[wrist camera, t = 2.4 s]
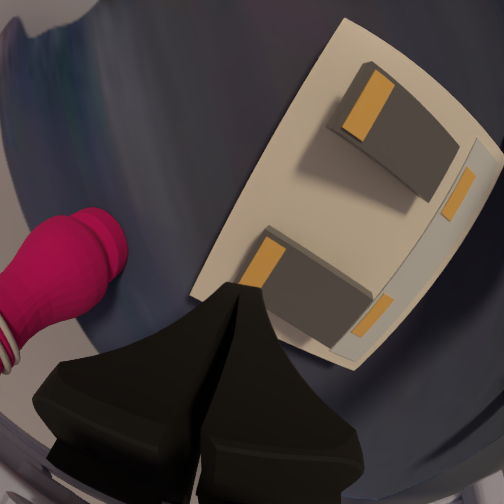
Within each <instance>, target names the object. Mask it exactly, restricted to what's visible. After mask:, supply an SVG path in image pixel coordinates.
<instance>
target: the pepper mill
mask: <svg viewBox="0 0 504 504" xmlns="http://www.w3.org/2000/svg"><path fill="white" fill-rule="evenodd" d="M127 255H128V248H127V242H126V238H125V235H124V233H123V230H122V229H121V227H120V225H119V224H118V222H117V221H116V220H115V219H114V218H113V217H112V216H111V215H110V214H108V213H107V212H106V211H104V210H102V209H99V208H94V207H89V208H85V209H82V210H80V211H78V212H76V213H74V214H72V215H70V216H64V215H59V216H55V217H51V218H49V219H48V220H46V221H44V222H43V223H41V224H40V225H38V226H37V227H36V228H35V229H34V230H33V231H32V232H31V233H30V234H29V235H28V237H27V238H26V239H25V241H24V243H23V244H22V246H21V247H20V249H19V250H18V252H17V254H16V255H15V257H14V258H13V260H12V261H11V263H10V264H9V265H8V266H7V267H6V268H5V270H4V271H3V272H2V273H1V274H0V374H1V373H2V374H5V375H8V374H10V372H11V368H12V367H13V366H14V365H17V364H18V363H19V361H20V352H19V351H20V350H21V349H22V347H23V346H24V345H25V343H26V342H27V341H28V340H29V339H30V338H31V337H32V336H34V335H35V334H36V333H37V332H39V331H40V330H42V329H44V328H46V327H48V326H50V325H52V324H55V323H58V322H61V321H65V320H68V319H72V318H76V317H78V316H80V315H82V314H84V313H86V312H88V311H89V310H90V309H92V308H93V307H94V306H95V305H96V304H98V303H99V302H100V301H101V299H102V298H103V296H104V295H105V292H106V290H107V286H108V283H109V282H111V281H112V280H113V279H114V278H115V277H116V276H117V275H118V274H119V273H120V272H121V271H122V270H123V268H124V267H125V264H126V261H127Z"/></svg>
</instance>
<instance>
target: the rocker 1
mask: <svg viewBox="0 0 504 504" xmlns="http://www.w3.org/2000/svg"><path fill="white" fill-rule="evenodd" d="M233 283H237V284H243V285H248V286H254V287H260V288H261V289H262V291H263V299H264V303H265V307H266V309H267V310H269V311H270V312H272V313H273V314H275V315H276V316H278V317H279V318H281V319H283V320H284V321H286V322H287V323H289V324H291V325H292V326H294V327H295V328H297V329H299V330H300V331H302V332H303V333H305V334H307V335H308V336H310V337H312V338H313V339H315V340H316V341H318V342H320V343H321V344H323V345H325V346H326V347H328V348H330V349H331V348H332V347H333V346H334V345H335V344H336V343H337V341H338V340H339V339H340V338H341V337H342V336H343V335H344V334H345V333H346V332H347V330H348V329H349V328H350V327H351V326H352V325H353V324H354V323H355V321H356V320H357V319H358V318H359V317H360V316H361V314H362V313H363V312H364V311H365V310H366V309H367V307H368V306H369V305H370V304H371V303H372V301H373V295H372V292H371V291H369V290H368V289H366V288H365V287H363V286H362V285H360V284H359V283H357V282H356V281H354V280H353V279H352V278H350V277H349V276H347V275H346V274H344V273H343V272H341V271H340V270H338V269H337V268H335V267H334V266H332V265H331V264H329V263H328V262H326V261H324V260H323V259H321V258H320V257H318V256H317V255H315V254H314V253H312V252H311V251H309V250H308V249H306V248H305V247H303V246H301V245H300V244H298V243H297V242H295V241H294V240H292V239H291V238H289V237H287V236H286V235H284V234H283V233H281V232H280V231H278V230H276V229H275V228H273V227H272V226H270V225H268V226H267V227H266V228H265V229H264V231H263V232H262V234H261V236H260V237H259V239H258V241H257V242H256V244H255V246H254V248H253V249H252V251H251V253H250V254H249V256H248V258H247V260H246V261H245V263H244V265H243V266H242V268H241V270H240V272H239V273H238V275H237V277H236V278H235V280H234V282H233Z"/></svg>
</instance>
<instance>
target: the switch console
mask: <svg viewBox="0 0 504 504" xmlns="http://www.w3.org/2000/svg"><path fill="white" fill-rule="evenodd" d="M370 61H373V62H374V63H375V64H377V65H378V66H379V67H380V68H382V69H383V70H384V71H385V72H387V73H388V74H389V75H390V76H391V77H393V78H394V79H395V80H396V81H397V82H398V83H399V84H401V85H402V86H403V87H404V88H405V89H406V90H407V91H408V92H409V93H411V94H412V95H413V96H414V97H415V98H416V99H417V100H418V101H419V102H420V103H421V104H422V105H423V106H424V107H425V108H426V109H427V110H428V111H429V112H430V113H431V114H432V115H433V116H434V117H435V118H436V119H437V121H438V122H439V123H440V124H441V125H442V126H443V127H444V128H445V129H446V131H447V132H448V133H449V134H450V135H451V136H452V137H453V139H454V140H455V141H456V142H457V143H458V145H459V146H460V148H459V150H458V152H457V154H456V156H455V158H454V160H453V162H452V163H451V165H450V167H449V169H448V171H447V173H446V174H445V176H444V178H443V180H442V182H441V183H440V185H439V187H438V189H437V190H436V192H435V194H434V195H433V197H432V199H431V200H430V202H429V203H427V202H426V201H424V200H422V199H421V198H419V197H418V196H417V195H416V194H415V193H413V192H412V191H411V190H410V189H409V188H408V187H406V186H405V185H404V184H403V183H402V182H400V181H399V180H398V179H397V178H395V177H394V176H393V175H392V174H390V173H389V172H388V171H387V170H385V169H384V168H383V167H381V166H380V165H379V164H378V163H376V162H375V161H374V160H372V159H371V158H370V157H368V156H367V155H365V154H364V153H363V152H361V151H360V150H358V149H357V148H356V147H354V146H353V145H351V144H350V143H348V142H347V141H346V140H344V139H343V138H341V137H340V136H338V135H337V134H335V133H334V132H332V131H330V130H329V129H327V128H326V125H327V123H328V122H329V120H330V118H331V117H332V115H333V113H334V111H335V110H336V108H337V106H338V105H339V103H340V101H341V100H342V98H343V96H344V94H345V93H346V91H347V89H348V88H349V86H350V84H351V83H352V81H353V79H354V77H355V76H356V74H357V72H358V71H359V69H360V67H361V66H362V64H363V63H366V62H370ZM503 166H504V154H503V153H502V151H501V150H500V149H499V147H498V146H497V145H496V144H495V142H494V141H493V140H492V139H491V137H490V136H489V135H488V134H487V133H486V131H485V130H484V129H483V128H482V127H481V126H480V124H479V123H478V122H477V121H476V120H475V119H474V118H473V117H472V116H471V114H470V113H469V112H468V111H467V110H466V109H465V108H464V107H463V106H462V105H461V104H460V103H459V102H458V101H457V100H456V99H455V98H454V97H453V96H452V95H451V94H450V93H449V92H448V91H447V90H445V89H444V88H443V87H442V86H441V85H440V84H439V83H438V82H437V81H435V80H434V79H433V78H432V77H431V76H430V75H428V74H427V73H426V72H425V71H424V70H422V69H421V68H420V67H419V66H417V65H416V64H415V63H414V62H412V61H411V60H410V59H408V58H407V57H406V56H404V55H403V54H402V53H400V52H399V51H398V50H396V49H395V48H393V47H392V46H390V45H389V44H387V43H386V42H384V41H383V40H381V39H380V38H378V37H377V36H375V35H374V34H372V33H370V32H369V31H367V30H366V29H364V28H362V27H360V26H359V25H357V24H355V23H353V22H352V21H350V20H348V19H346V18H344V19H343V21H342V22H341V24H340V25H339V27H338V28H337V30H336V32H335V33H334V35H333V36H332V38H331V39H330V41H329V43H328V44H327V46H326V47H325V49H324V51H323V52H322V54H321V55H320V57H319V59H318V60H317V62H316V63H315V65H314V67H313V68H312V70H311V72H310V73H309V75H308V77H307V78H306V80H305V82H304V83H303V85H302V87H301V88H300V90H299V92H298V93H297V95H296V97H295V98H294V100H293V102H292V104H291V105H290V107H289V109H288V110H287V112H286V114H285V116H284V117H283V119H282V121H281V122H280V124H279V126H278V128H277V129H276V131H275V133H274V135H273V137H272V138H271V140H270V142H269V144H268V145H267V147H266V149H265V151H264V153H263V154H262V156H261V158H260V160H259V162H258V163H257V165H256V167H255V169H254V171H253V173H252V174H251V176H250V178H249V180H248V182H247V184H246V185H245V187H244V189H243V191H242V193H241V195H240V197H239V199H238V200H237V202H236V204H235V206H234V208H233V210H232V212H231V214H230V216H229V218H228V219H227V221H226V223H225V225H224V227H223V229H222V231H221V233H220V235H219V237H218V239H217V241H216V243H215V245H214V247H213V249H212V251H211V253H210V255H209V257H208V259H207V261H206V263H205V265H204V267H203V269H202V271H201V273H200V275H199V277H198V279H197V281H196V283H195V285H194V287H193V289H192V291H191V293H190V295H191V296H192V297H194V298H196V299H198V300H200V301H202V302H203V301H204V300H206V299H207V298H208V297H209V296H210V295H211V294H212V293H214V292H215V291H216V290H217V289H218V288H219V287H220V286H221V285H222V284H223V283H225V282H231V283H233V282H234V280H235V278H236V277H237V275H238V273H239V272H240V270H241V268H242V266H243V265H244V263H245V261H246V260H247V258H248V256H249V254H250V253H251V251H252V249H253V248H254V246H255V244H256V242H257V241H258V239H259V237H260V236H261V234H262V232H263V231H264V229H265V228H266V227H267V226H268V225H270V226H272V227H273V228H275V229H276V230H278V231H280V232H281V233H283V234H284V235H286V236H287V237H289V238H291V239H292V240H294V241H295V242H297V243H298V244H300V245H301V246H303V247H305V248H306V249H308V250H309V251H311V252H312V253H314V254H315V255H317V256H318V257H320V258H321V259H323V260H324V261H326V262H328V263H329V264H331V265H332V266H334V267H335V268H337V269H338V270H340V271H341V272H343V273H344V274H346V275H347V276H349V277H350V278H352V279H353V280H354V281H356V282H357V283H359V284H360V285H362V286H363V287H365V288H366V289H368V290H369V291H371V292H372V295H373V301H372V303H371V304H370V305H369V306H368V307H367V309H366V310H365V311H364V312H363V313H362V314H361V316H360V317H359V318H358V319H357V320H356V321H355V323H354V324H353V325H352V326H351V327H350V328H349V329H348V330H347V332H346V333H345V334H344V335H343V336H342V337H341V338H340V339H339V340H338V341H337V343H336V344H335V345H334V346H333V347H332V348H331V349H330V348H328V347H326V346H325V345H323V344H321V343H320V342H318V341H316V340H315V339H313V338H312V337H310V336H308V335H307V334H305V333H303V332H302V331H300V330H299V329H297V328H295V327H294V326H292V325H291V324H289V323H287V322H286V321H284V320H283V319H281V318H279V317H278V316H276V315H275V314H273V313H272V312H270V311H269V310H267V309H266V310H267V313H268V316H269V319H270V322H271V324H272V327H273V329H274V331H275V333H276V336H277V338H278V339H280V340H282V341H284V342H286V343H289V344H291V345H293V346H295V347H298V348H300V349H302V350H304V351H307V352H309V353H311V354H314V355H316V356H319V357H321V358H323V359H326V360H328V361H331V362H333V363H335V364H338V365H340V366H343V367H345V368H348V369H351V370H353V371H355V370H356V369H357V368H358V367H359V366H360V365H361V364H362V363H363V362H364V361H365V360H366V359H367V358H368V357H369V356H370V355H371V354H372V353H373V352H374V351H375V350H376V349H377V348H378V347H379V346H380V345H381V344H382V343H383V342H384V341H385V340H386V339H387V338H388V337H389V335H390V334H391V333H392V332H393V331H394V330H395V329H396V328H397V327H398V326H399V324H400V323H401V322H402V321H403V320H404V319H405V318H406V316H407V315H408V314H409V313H410V312H411V311H412V309H413V308H414V307H415V306H416V305H417V303H418V302H419V301H420V300H421V298H422V297H423V296H424V295H425V293H426V292H427V291H428V290H429V288H430V287H431V286H432V284H433V283H434V282H435V280H436V279H437V278H438V276H439V275H440V274H441V272H442V271H443V270H444V268H445V267H446V265H447V264H448V263H449V261H450V260H451V258H452V257H453V255H454V254H455V252H456V251H457V249H458V248H459V246H460V245H461V243H462V242H463V240H464V238H465V237H466V235H467V234H468V232H469V230H470V229H471V227H472V225H473V224H474V222H475V220H476V219H477V217H478V215H479V213H480V212H481V210H482V208H483V206H484V204H485V203H486V201H487V199H488V197H489V195H490V193H491V191H492V189H493V187H494V185H495V183H496V181H497V179H498V177H499V175H500V172H501V170H502V168H503Z"/></svg>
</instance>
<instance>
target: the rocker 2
mask: <svg viewBox="0 0 504 504" xmlns="http://www.w3.org/2000/svg"><path fill="white" fill-rule="evenodd" d="M326 128H327V129H329V130H330V131H332V132H334V133H335V134H337V135H338V136H340V137H341V138H343V139H344V140H346V141H347V142H348V143H350V144H351V145H353V146H354V147H356V148H357V149H358V150H360V151H361V152H363V153H364V154H365V155H367V156H368V157H370V158H371V159H372V160H374V161H375V162H376V163H378V164H379V165H380V166H381V167H383V168H384V169H385V170H387V171H388V172H389V173H390V174H392V175H393V176H394V177H395V178H397V179H398V180H399V181H400V182H402V183H403V184H404V185H405V186H406V187H408V188H409V189H410V190H411V191H412V192H413V193H415V194H416V195H417V196H418V197H419V198H421V199H422V200H424V201H426V202H427V203H429V202H430V200H431V199H432V197H433V195H434V194H435V192H436V190H437V189H438V187H439V185H440V183H441V182H442V180H443V178H444V176H445V174H446V173H447V171H448V169H449V167H450V165H451V163H452V162H453V160H454V158H455V156H456V154H457V152H458V150H459V148H460V146H459V145H458V143H457V142H456V141H455V140H454V139H453V137H452V136H451V135H450V134H449V133H448V132H447V131H446V129H445V128H444V127H443V126H442V125H441V124H440V123H439V122H438V121H437V119H436V118H435V117H434V116H433V115H432V114H431V113H430V112H429V111H428V110H427V109H426V108H425V107H424V106H423V105H422V104H421V103H420V102H419V101H418V100H417V99H416V98H415V97H414V96H413V95H412V94H411V93H409V92H408V91H407V90H406V89H405V88H404V87H403V86H402V85H401V84H399V83H398V82H397V81H396V80H395V79H394V78H393V77H391V76H390V75H389V74H388V73H387V72H385V71H384V70H383V69H382V68H380V67H379V66H378V65H377V64H375V63H374V62H373V61H370V62H366V63H363V64H362V66H361V67H360V69H359V71H358V72H357V74H356V76H355V77H354V79H353V81H352V83H351V84H350V86H349V88H348V89H347V91H346V93H345V94H344V96H343V98H342V100H341V101H340V103H339V105H338V106H337V108H336V110H335V111H334V113H333V115H332V117H331V118H330V120H329V122H328V123H327V125H326Z"/></svg>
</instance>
